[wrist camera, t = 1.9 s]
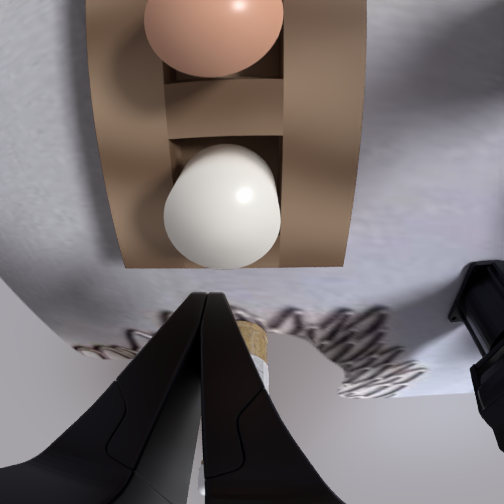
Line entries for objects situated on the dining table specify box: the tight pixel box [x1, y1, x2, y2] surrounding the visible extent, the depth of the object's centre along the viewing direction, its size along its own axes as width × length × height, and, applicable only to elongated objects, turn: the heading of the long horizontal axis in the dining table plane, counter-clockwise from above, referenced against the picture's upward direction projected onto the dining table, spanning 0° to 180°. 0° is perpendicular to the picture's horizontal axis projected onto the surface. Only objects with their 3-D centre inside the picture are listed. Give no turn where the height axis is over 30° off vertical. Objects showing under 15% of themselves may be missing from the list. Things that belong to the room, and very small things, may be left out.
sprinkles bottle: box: [198, 321, 269, 496], centre depth 21 cm, size 5×5×14 cm
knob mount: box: [86, 0, 367, 268], centre depth 12 cm, size 24×12×4 cm, turn 1°
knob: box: [164, 144, 281, 270], centre depth 13 cm, size 4×4×3 cm
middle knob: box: [144, 0, 283, 77], centre depth 9 cm, size 4×4×3 cm
